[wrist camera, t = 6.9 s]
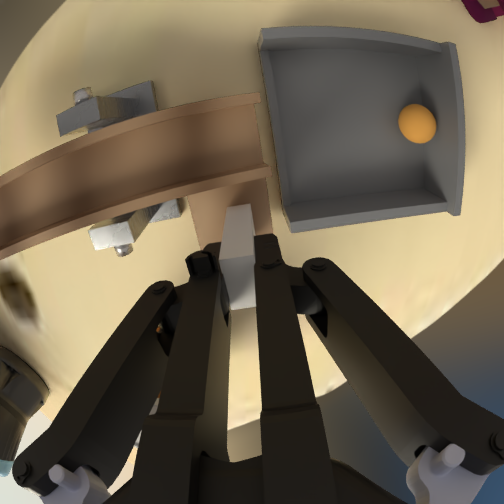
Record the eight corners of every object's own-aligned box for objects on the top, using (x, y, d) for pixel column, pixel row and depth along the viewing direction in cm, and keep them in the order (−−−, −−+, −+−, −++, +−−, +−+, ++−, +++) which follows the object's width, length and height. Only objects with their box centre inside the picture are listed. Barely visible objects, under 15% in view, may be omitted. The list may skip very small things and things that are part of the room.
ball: (437, 143, 18) (402, 139, 20) (435, 105, 16) (399, 103, 18) (436, 148, 16) (396, 143, 18) (434, 105, 14) (393, 102, 16)
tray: (282, 212, 22) (293, 239, 18) (257, 43, 16) (262, 23, 11) (427, 195, 22) (460, 215, 17) (419, 50, 15) (455, 44, 11)
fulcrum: (118, 227, 22) (84, 266, 16) (86, 106, 17) (37, 110, 11) (181, 214, 22) (161, 253, 16) (152, 81, 17) (116, 70, 11)
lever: (9, 320, 17) (-4, 345, 14) (-43, 207, 11) (-66, 222, 8) (271, 249, 21) (289, 271, 18) (248, 96, 16) (265, 90, 13)
